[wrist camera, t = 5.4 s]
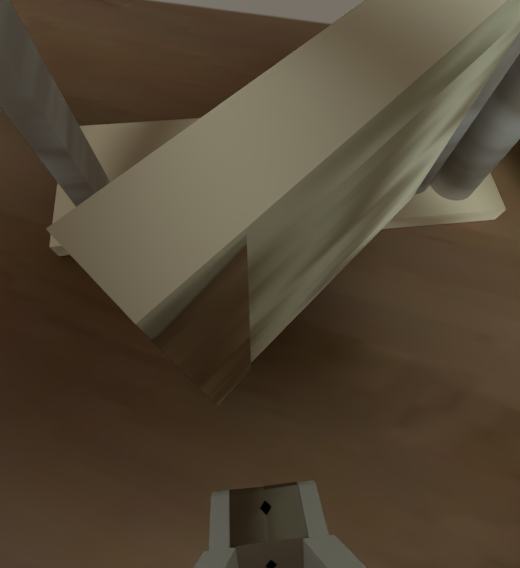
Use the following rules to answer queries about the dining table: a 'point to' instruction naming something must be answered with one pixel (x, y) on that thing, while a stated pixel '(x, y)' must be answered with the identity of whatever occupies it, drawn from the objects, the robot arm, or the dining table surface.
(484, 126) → the wooden stand
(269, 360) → the dining table surface
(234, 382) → the gate
